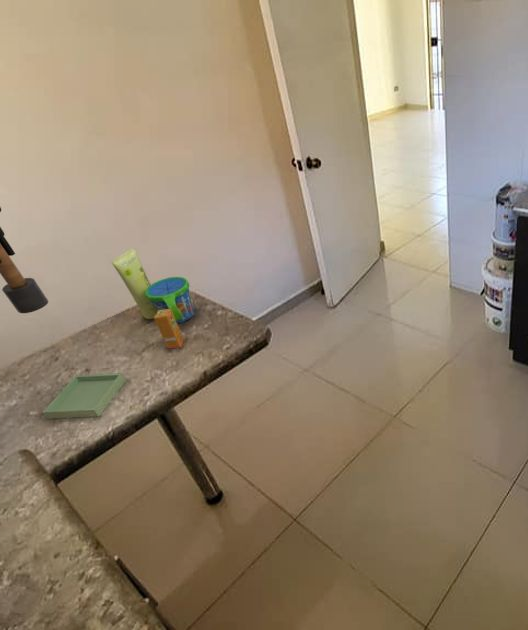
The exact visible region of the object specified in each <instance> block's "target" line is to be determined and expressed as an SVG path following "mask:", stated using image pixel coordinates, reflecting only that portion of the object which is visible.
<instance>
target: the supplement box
mask: <svg viewBox="0 0 528 630" xmlns="http://www.w3.org/2000/svg"><path fill="white" fill-rule="evenodd" d="M153 320H154V321H155V324H156V327H157V328H158V330H159V332H160V335H161V337H162V339H163V341H164V343H165V345H166V347H167V349H170V350H171V349H177V348H181V347H182V346H183V344H184V341H185V339H184V335H183V334H182V332H181V330H180V327H179V323H177V322H176V320H175V317H174V315H173V313H172V310H171V309H164V310H158V311H157V314H156V315H155V316H154V319H153Z"/></svg>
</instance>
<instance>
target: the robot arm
mask: <svg viewBox="0 0 528 630" xmlns="http://www.w3.org/2000/svg"><path fill="white" fill-rule="evenodd" d="M1 212H2V207H1V206H0V213H1ZM0 243H1V245H2V246H3V248H4V249H5V251H6V252H7V254H8V255H9V257H11V256H14V255H16V253H15V251H14V249H13V248H12V247H11V245H10V243H9V241H8V239H6V237H5V231H4V229H2V226H0ZM0 263H2V261H1V260H0Z"/></svg>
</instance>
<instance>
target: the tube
mask: <svg viewBox="0 0 528 630" xmlns="http://www.w3.org/2000/svg"><path fill="white" fill-rule="evenodd" d="M110 261H111V265H112V266H113V267H114V269H115V270H116V272H117V273H118V275H119V276H120V278H121V280H122V281H123V283H124V284H125V286H126V288H127V289H128V291H129V294H131V296H132V298H133V300H134V302H135V303H136V305H137V307H138V308H139V311H140V313H141V314H142V316H143V318H144V319H146V320H155V319H154V316H155V315H156V314H157V311H158V310H157V309H156V307H155V306H154V305H153V303H152V302H151V301H150V300H149V299H148V298H147V297H146V294H145V291H146V289H147V288H148V287H149V286H150V285H152V283H151V282H150V280H149V278H148V276H147V274H146V272H145V269H144V267H143V265H142V263H141V260H140V258H139V256H138V253H137V251H136V248H135V247H132V248H131V249H129V250H127V251H126V252H124V253H123V254H121V255H119V256H118V257H116V258H114V259H112V260H110Z"/></svg>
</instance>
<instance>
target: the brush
mask: <svg viewBox="0 0 528 630" xmlns="http://www.w3.org/2000/svg"><path fill="white" fill-rule="evenodd" d="M0 260H1V261H2V263H0V276H1V277H2V279H3V280H4V281H5V283H6V284H5V285H4V286H3V287H2V288H1V290H2V292H3V293H4V295H5V296H6V298H7V299H8V300H9V302H10V303H11V305H12V306H13V307H14V309H15V310H16V311H17V313H19V314H29V313H33V312H36V311H39V310H41V309H43V308H44V307H46V306H47V305H48V303H49V299H48V298H47V296H46V295H45V293H44V292H43V290H42V289H41V287H40V286H39V284H38V282H37V281H36V280H35V278H32V277H24V276H23V274H22V272H21V271H20V270H19V268H18V267H17V265H16V264H15V263H14V261H13V260H12V258H11V256H9V255H8V254H7V252H6V251H5V249H4V248H3V246H2V245H1V243H0Z"/></svg>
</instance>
